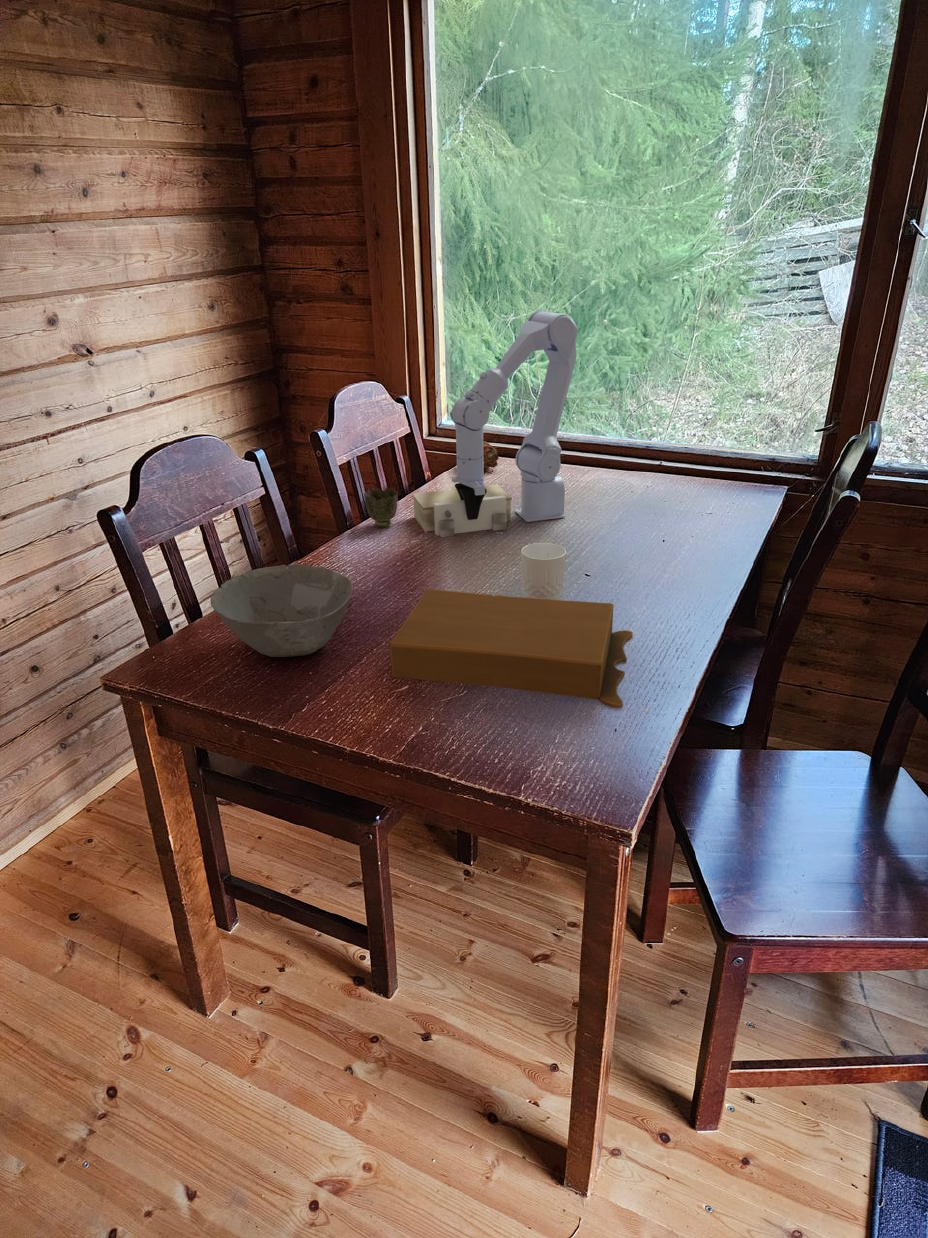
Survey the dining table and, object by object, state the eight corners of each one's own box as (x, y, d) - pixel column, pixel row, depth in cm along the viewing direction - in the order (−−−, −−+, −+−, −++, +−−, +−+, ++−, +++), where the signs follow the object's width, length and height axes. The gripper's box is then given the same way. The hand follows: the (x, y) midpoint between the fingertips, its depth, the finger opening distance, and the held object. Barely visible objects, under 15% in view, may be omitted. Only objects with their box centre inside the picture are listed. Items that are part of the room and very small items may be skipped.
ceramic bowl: (296, 695, 124) (289, 636, 119) (190, 657, 135) (179, 601, 131) (386, 635, 141) (382, 581, 136) (284, 605, 152) (278, 554, 147)
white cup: (568, 595, 153) (570, 545, 149) (558, 614, 146) (560, 561, 142) (526, 590, 155) (527, 540, 151) (515, 608, 149) (515, 556, 144)
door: (503, 525, 187) (503, 495, 184) (508, 529, 185) (508, 499, 182) (435, 533, 183) (433, 503, 180) (438, 538, 181) (437, 507, 178)
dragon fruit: (499, 479, 223) (461, 480, 228) (508, 454, 226) (470, 456, 232) (487, 459, 216) (448, 460, 222) (497, 433, 219) (457, 435, 225)
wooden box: (429, 585, 145) (635, 600, 137) (431, 618, 147) (632, 636, 140) (386, 648, 124) (624, 671, 116) (389, 686, 127) (621, 711, 119)
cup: (402, 520, 191) (400, 486, 187) (396, 532, 184) (394, 497, 181) (370, 520, 192) (367, 486, 188) (363, 531, 185) (360, 496, 182)
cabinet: (497, 507, 198) (497, 484, 195) (518, 527, 185) (518, 503, 183) (413, 516, 193) (412, 493, 190) (429, 538, 180) (428, 514, 178)
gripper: (442, 449, 182) (444, 509, 188) (461, 467, 170) (462, 530, 176) (473, 446, 184) (474, 505, 190) (494, 463, 172) (494, 526, 178)
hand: (470, 517), depth 183 cm, fingers closed
